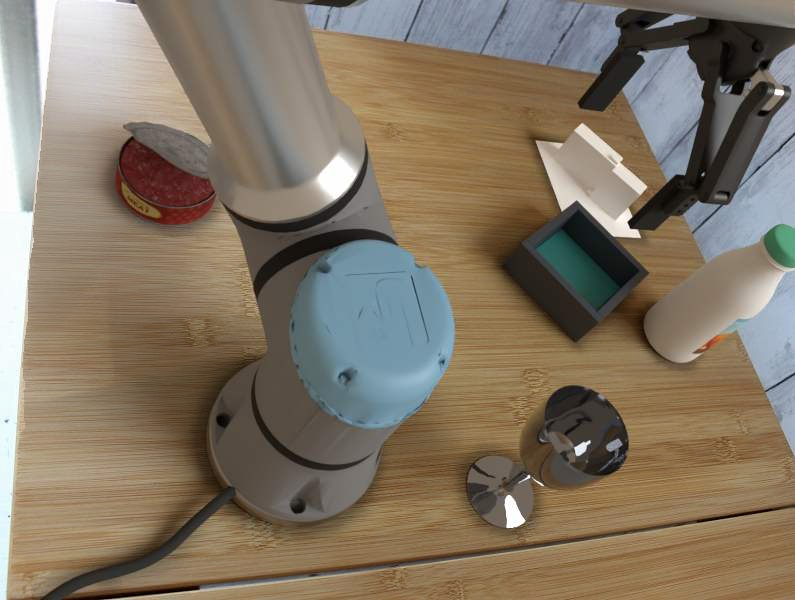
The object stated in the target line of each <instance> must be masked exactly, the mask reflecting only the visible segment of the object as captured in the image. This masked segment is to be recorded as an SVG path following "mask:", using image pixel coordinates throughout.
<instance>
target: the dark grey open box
mask: <svg viewBox="0 0 795 600" xmlns="http://www.w3.org/2000/svg"><path fill="white" fill-rule="evenodd" d="M501 266H502V268H503V269H504V270H505V272H507V273H508V274H509V275H510V276H511V277H512V278H513V279H514V280H515V281H516V282H517V283H518V284H519V285H520V287H522V288H523V289H524V290H525V291H526V293H527V294H529V296H530V297H531V298H532V299H533V300H534V301H535V302H536V303H537V304H538V305H539V306H540V307H541V308H542V310H543V311H545V313H547V314H548V316H550V318H552V320H553V321H554V322H555V323H556V324H557V325H558V326H559V327H560V328H561V329H562V330H563V332H565V333H566V334H567V335H568V336H569V337H570V339H572V340H573V342H574V343H578V342H579V341H580V340H581V339H583V338H584V337H585V336H586V335H587V334H589V332H591V330H593V328H595V327H596V326H597V325H599V323H601V321H603V319H605V318H606V317H607V316H608V315H609V313H611V312H612V311H613V310H614V309H615V308H616V307H617V306H618V305H619V304H620V303H621V302H622V301H623V300H624V299H626V297H627V296H628V295H629V294H631V292H633V290H634V289H635V288H636V287H637V286H639V284H641V283H642V282H643V281H644V280H645V279H646V277H648V275H650V272H649V271H648V270H647V268H646V267H644V265H643V264H641V263H640V262H639V261H638V260H637V258H635V257H634V256H633V255H632V254H631V253H630V251H628V250H627V249H626V247H624V246H623V244H622V243H621V242H619V241H618V240H617V239H616V238H615V237H614V236H612V235H611V234H610V233H609V232H608V231H607V230H606V229H605V228H604V227H603V226H602V225H601V224H600V223H599V222H598V221H597V220H596V219H595V218H594V217H593V216H592V215H591V214H590V213H589V212H588V211H587V210H586V209H585V208H584V207H583V206H582V205H581V204H580V203H579V202H578V201H577V200H576V201H575V202H574V203H572V204H571V205H570V206H569V207H567V208H566V209H565V210H563V211H561V212H559V213H558V214H557V215H556V216H554V217H553V218H552V219H550V220H549V221H548V222H547V223H545V224H544V225H542V226H541V227H540V228H538V229H537V230H536V231H535V232H534V233H532V234H531V235H529V236H528V237H527V238H526V239H525V240H523V241H521V243H520V244H519V245H518V246H517V247H516V248H515V249H514V251H513V252H512V253H511V254H510V255H509V256H508V257H507V258H506V259H505V261H504V262H503V263H502V264H501Z"/></svg>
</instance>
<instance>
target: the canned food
mask: <svg viewBox="0 0 795 600" xmlns="http://www.w3.org/2000/svg"><path fill="white" fill-rule="evenodd" d="M122 128H123V129H124V130H126V131H127V132H129V133H130V134H131V136H130V137H128V138H127V139H126V141H124V143H122V145H121V147H120V149H119V150H118V154H117V155H118V156H117V163H116V168H115V173H114V179H113V180H114V187H115V191H116V194H117V196H118V197H119V199H120V201H121V202H122V203H123V205H124V206H125V207H126V208H127V209H128V210H129V211H130V212H132V213H133V214H134V215H136V216H137V217H139V218H141V219H143V220H144V221H146V222H150V223H152V224H155V225H159V226H165V227H179V226H180V227H181V226H186V225H190V224H193V223H196V222H197V221H199V220H202V219H203V218H204V217H205V216H207V215H208V214H209V213H210V211H211V210H212V208H213V207H214V205H215V203H216V198H217V194H216V192H215V191H214V189H213V187H212V185H211V182H210V179H209V176H208V170H207V156H208V150H209V146H208V144H207V143H205V142H203V141H202V140H201V139H199V138H198V137H196V136H194V135H192V134H190V133H187V132H185V131H184V130H180V129H177V128H173V127H171V126H168V125H165V124H161V123H152V122H147V121H140V122H138V121H137V122H135V121H129V122H128V123H124V124H122Z"/></svg>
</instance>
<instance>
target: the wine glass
mask: <svg viewBox="0 0 795 600" xmlns="http://www.w3.org/2000/svg"><path fill="white" fill-rule="evenodd" d="M517 447H518V454H519V458H520V462H521V464H522V467H520V466H519V464H517V463H515V462H514V461H513V460H511V459H509V458H506V457H504V456H501V455H486V456H484V457H481V458H479V459H478V460H477V461H475V462H474V463H473V464H472V465H471V467H470V468H469V471H468V474H467V476H466V477H467V478H466V492H467V496H468V499H469V501H470V504H471V506H472V508H473V509H474V510H475V512H476V513H477V514H478V515H479V516H480V517H481V519H482V520H484V521H485V522H486V523H488V524H490V525H492V526H493V527H497V528H500V529H513V528H517V527H519V526H521V525H523V524H524V523H525V522H527V520H528V519H529V518H530V516H531V514H532V511H533V508H534V503H535V500H534V499H535V497H534V491H533V490H534V489H533V486H532V484H531V481H530V479H532V480H533V481H535V482H536V483H537V484H539V485H540V486H542V487H544V488H546V489H548V490H551V491H556V492H571V491H577V490H581V489H584V488H588V487H591V486H593V485H595V484H597V483H599V482H601V481H602V480H605V479H607V478H609V477H610V476H612V475H613V474H614V473H616V472H618V470H620V469H621V468H622V467H623V465H624V464H625V462H626V461H627V458H628V455H629V448H630V439H629V434H628V431H627V427H626V425H625V422H624V420H623V418H622V416H621V414H620V413H619V411H618V410H617V409H616V407H615V406H614V405H613V404H612V403H611V402H610V401H609V400H608V398H606V397H605V396H604V395H602V394H601V393H599V392H598V391H596V390H594V389H592V388H590V387H588V386H583V385H577V384H569V385H564V386H562V387H559V388H557V389H556V390H554V391H553V392H552V393H551V394H549V395H548V396H547V397H546V398H545V399H544V400H543V401H541V402H540V403H539V405H537V407H536V408H535V409H534V410H533V411H532V412H531V414H530V415H529V417H528V418H527V420H526V422H525V423H524V425H523V427H522V429H521V432H520V436H519V438H518V446H517Z"/></svg>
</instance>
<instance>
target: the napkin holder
mask: <svg viewBox="0 0 795 600" xmlns="http://www.w3.org/2000/svg"><path fill="white" fill-rule="evenodd" d="M535 144H536V146H537V149H538V151H539V152H538V153H539V154H540V157H541V160H542V163H543V165H544V168H545V171H546V174H547V176H548V178H549V182H550V185H551V187H552V189H553V192H554V194H555V197H556V201H557V203H558V206H559V208H560V211H561V212H562V211H563V210H565V209H566V208H567V207H569V206H570V205H571V204H572V203H574V202H575V201H576V200H577V201H578V202H579V203H580V204H581V205H582V206H583V207H584V208H585V209H586V210H587V211H588V212H589V213H590V214H591V215H592V216H593V217H594V218H595V219H596V220H597V221H598V222H599V223H600V224H601V225H602V226H603V227H604V228H605V229H606V230H607V231H608V232H609V233H610V234H611V235H612V236H613V237H614V238H615V237H617V238H633V239H634V238H635V239H641V238H642V237H641V234H640V231H639V230H636V229H630V227H629V225H628V223H627V222H628V221H629V220H630V219H631V218H632V217H633V215H632V213H631V210H630V208H629V207H631V206H632V205H633V204H634V202H636V200H637V199H639V197H641V195H642V194H643V193H644V191H645V190H647V188H648V186H647V185H646V184H645V183H644V182H643V181H642V180H641V179H640V178H639V177H637V176H636V175H635V174H634V173H633V172H631V171H630V170H629V169H628V168H627V167H626V166H624V165H623V164H622V163H621V162H622V161H623V160H624V157H622V156H621V155H620V154H619V153H618V152H617V151H616V150H614V148H612V147H611V146H609V144H608V143H606V141H604V140H603V139H602V138H600V136H598V135H597V134H596V133H595V132H593V130H592V129H590V128H589V127H588V126H587V125H586V124H584V123H583V122H582V123H581V124H580V125H578V126H577V127H576V128H575V129H574V130H573V131H572V132H571V134H570V135H569V136H568V137H567V139H566V140H565V141H564V142H562V143H561V142H554V141H546V140H545V141H544V140H535Z"/></svg>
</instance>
